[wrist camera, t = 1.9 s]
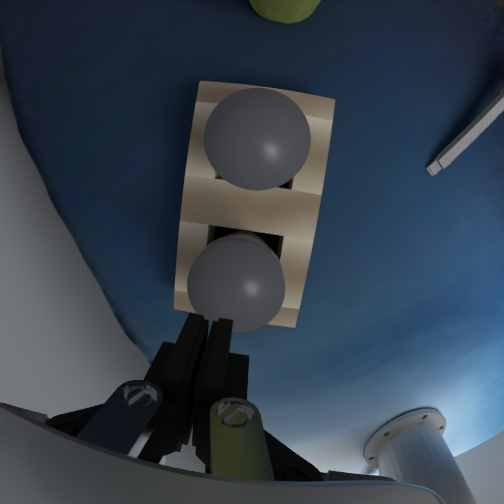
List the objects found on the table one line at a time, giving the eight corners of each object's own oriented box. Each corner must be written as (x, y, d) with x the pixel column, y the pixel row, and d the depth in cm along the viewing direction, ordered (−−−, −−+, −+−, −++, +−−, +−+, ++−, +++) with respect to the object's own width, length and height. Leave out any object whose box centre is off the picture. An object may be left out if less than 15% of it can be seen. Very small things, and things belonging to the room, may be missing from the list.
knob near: (292, 191, 23) (302, 198, 17) (214, 180, 23) (197, 183, 17) (303, 116, 22) (317, 96, 15) (226, 106, 22) (212, 82, 15)
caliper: (508, 70, 20) (540, 60, 14) (513, 77, 21) (545, 69, 14) (423, 168, 24) (461, 169, 18) (430, 177, 25) (467, 180, 19)
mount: (291, 307, 28) (295, 327, 24) (185, 291, 28) (173, 309, 24) (324, 110, 23) (335, 99, 20) (209, 93, 23) (199, 81, 20)
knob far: (273, 300, 25) (275, 339, 19) (202, 289, 25) (184, 324, 19) (285, 229, 24) (293, 249, 18) (210, 218, 24) (191, 234, 18)
